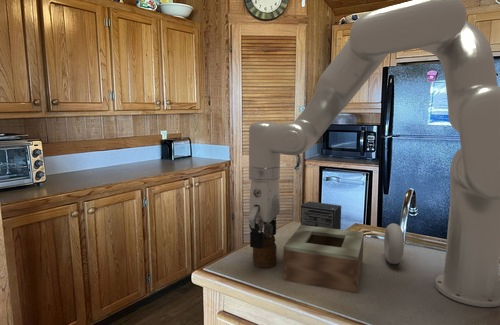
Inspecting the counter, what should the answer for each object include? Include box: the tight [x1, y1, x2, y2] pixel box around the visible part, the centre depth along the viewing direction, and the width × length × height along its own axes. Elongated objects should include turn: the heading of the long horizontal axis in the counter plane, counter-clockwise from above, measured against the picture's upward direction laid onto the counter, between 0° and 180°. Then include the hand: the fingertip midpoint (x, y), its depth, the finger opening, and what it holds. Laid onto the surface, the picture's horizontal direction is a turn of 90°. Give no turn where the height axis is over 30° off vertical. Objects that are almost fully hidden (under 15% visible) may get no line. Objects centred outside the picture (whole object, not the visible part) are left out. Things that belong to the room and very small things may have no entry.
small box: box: [300, 201, 342, 230], centre depth 106 cm, size 11×6×10 cm, turn 58°
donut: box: [383, 223, 405, 265], centre depth 90 cm, size 10×4×10 cm, turn 168°
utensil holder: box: [252, 218, 278, 269], centre depth 90 cm, size 6×6×12 cm
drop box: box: [282, 224, 365, 294], centre depth 85 cm, size 16×16×8 cm
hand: (263, 240), depth 90 cm, fingers open, 9 cm apart
